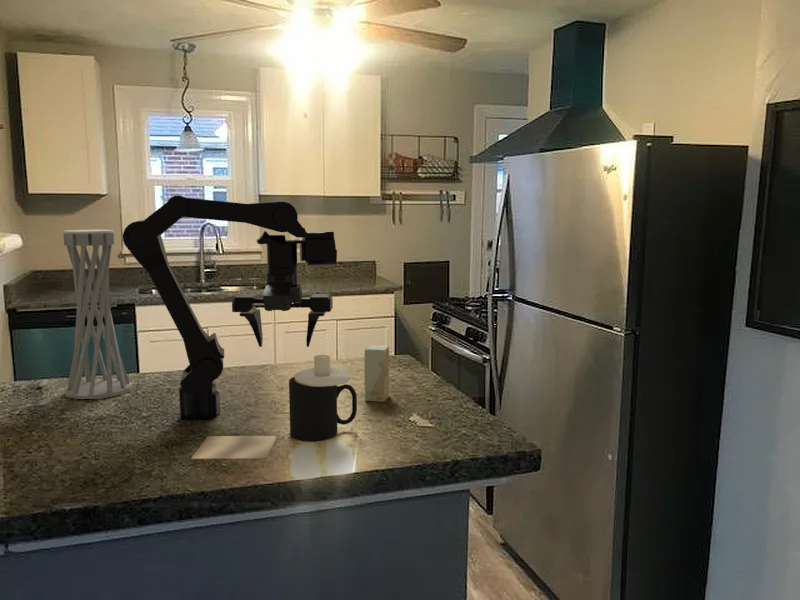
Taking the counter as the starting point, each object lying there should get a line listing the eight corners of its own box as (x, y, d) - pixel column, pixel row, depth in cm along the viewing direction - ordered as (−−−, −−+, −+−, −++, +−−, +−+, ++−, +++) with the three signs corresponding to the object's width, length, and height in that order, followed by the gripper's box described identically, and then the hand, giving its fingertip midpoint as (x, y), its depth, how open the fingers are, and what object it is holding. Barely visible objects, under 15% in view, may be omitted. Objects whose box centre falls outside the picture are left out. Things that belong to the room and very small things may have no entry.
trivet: (190, 462, 103) (190, 458, 103) (208, 439, 113) (208, 436, 113) (266, 461, 104) (266, 458, 103) (277, 439, 113) (277, 436, 113)
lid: (299, 371, 119) (298, 350, 118) (351, 372, 119) (351, 350, 118) (290, 386, 109) (290, 363, 109) (347, 386, 109) (347, 363, 109)
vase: (117, 379, 152) (108, 228, 147) (143, 390, 143) (133, 230, 137) (55, 391, 142) (42, 230, 137) (78, 404, 133) (65, 232, 128)
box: (384, 402, 135) (384, 350, 133) (364, 401, 135) (363, 349, 134) (389, 395, 140) (389, 344, 138) (370, 394, 140) (369, 344, 139)
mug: (362, 439, 114) (362, 381, 112) (294, 447, 110) (292, 387, 108) (351, 424, 121) (350, 370, 120) (286, 431, 118) (285, 375, 116)
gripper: (223, 271, 117) (226, 356, 119) (327, 271, 117) (328, 356, 120) (237, 265, 128) (240, 343, 130) (332, 265, 128) (333, 343, 131)
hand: (284, 346), depth 127 cm, fingers open, 9 cm apart
